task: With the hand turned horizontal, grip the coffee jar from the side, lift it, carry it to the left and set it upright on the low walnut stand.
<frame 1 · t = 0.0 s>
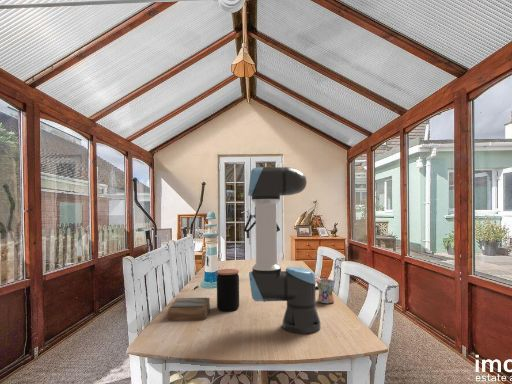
hand: (261, 244, 182), 28 cm above the table, tool pointing down, fingers open, 13 cm apart
coffee jar: (228, 309, 157), on the table
dinner plate: (301, 286, 202), on the table
walnut stand: (190, 314, 150), on the table
mug: (325, 301, 168), on the table
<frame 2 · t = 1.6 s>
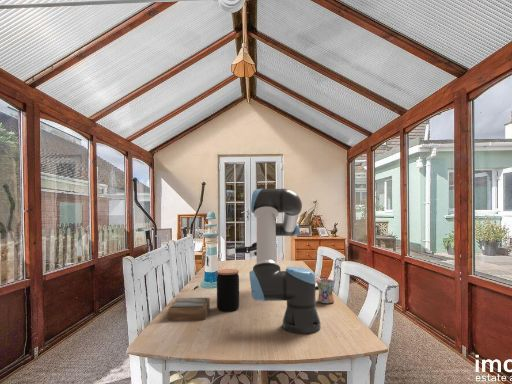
hand: (238, 253, 167), 25 cm above the table, tool horizontal, fingers open, 13 cm apart
nothing on the table moved.
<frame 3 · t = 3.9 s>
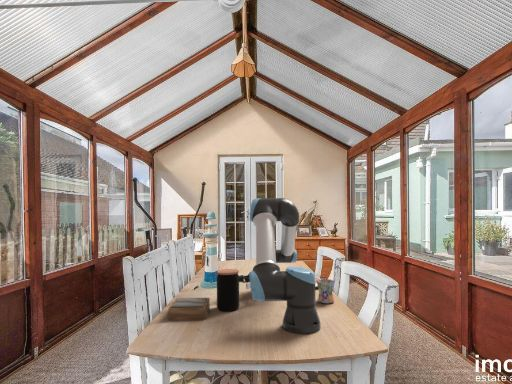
hand: (235, 284, 164), 10 cm above the table, tool horizontal, fingers open, 13 cm apart
nothing on the table moved.
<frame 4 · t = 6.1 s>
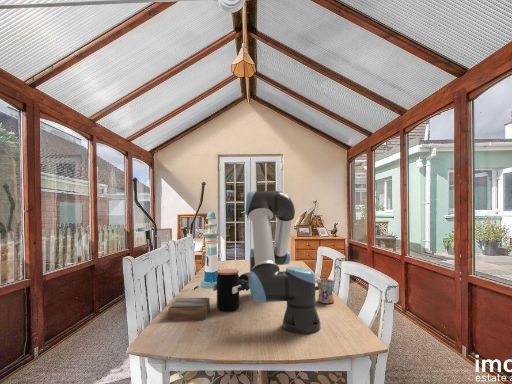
hand: (223, 289, 154), 10 cm above the table, tool horizontal, fingers closed on coffee jar, 11 cm apart
coffee jar: (228, 309, 157), on the table, touching gripper
everything else where it was.
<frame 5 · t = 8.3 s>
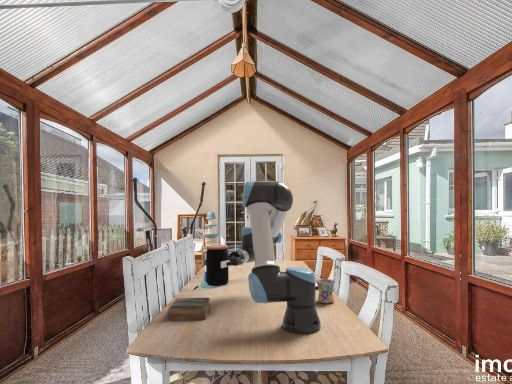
hand: (211, 264, 154), 22 cm above the table, tool horizontal, fingers closed on coffee jar, 11 cm apart
coffee jar: (217, 284, 157), point 12 cm above the table, touching gripper
everything else where it was.
when the fingers open (16 cm above the table, at t = 10.6 s): coffee jar drops 1 cm, resting on walnut stand.
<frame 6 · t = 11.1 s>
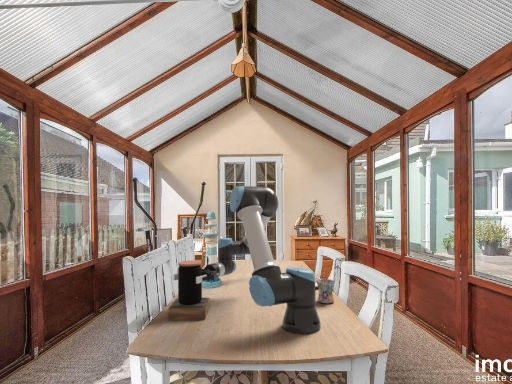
hand: (185, 278, 148), 16 cm above the table, tool horizontal, fingers open, 13 cm apart
coffee jar: (190, 302, 150), point 5 cm above the table, touching walnut stand
everything else where it was.
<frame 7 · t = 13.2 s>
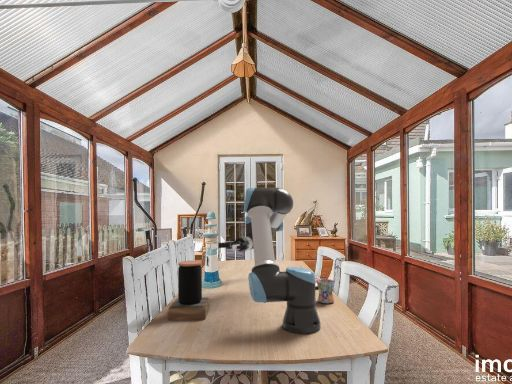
hand: (221, 247, 164), 28 cm above the table, tool horizontal, fingers open, 13 cm apart
nothing on the table moved.
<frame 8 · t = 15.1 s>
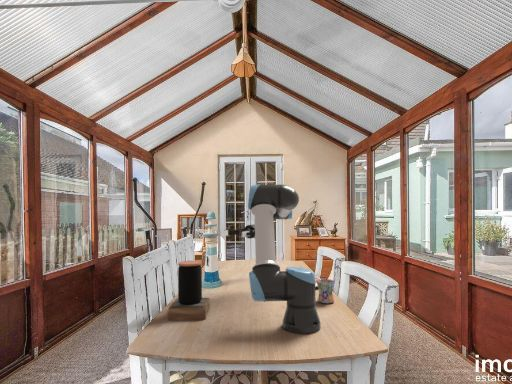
hand: (230, 234, 166), 35 cm above the table, tool horizontal, fingers open, 13 cm apart
nothing on the table moved.
at the end: coffee jar inside the target area on the walnut stand (0.1 cm from its centre), point 5.2 cm above the walnut stand's base; coffee jar tilted 0°; the gripper is holding nothing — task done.
